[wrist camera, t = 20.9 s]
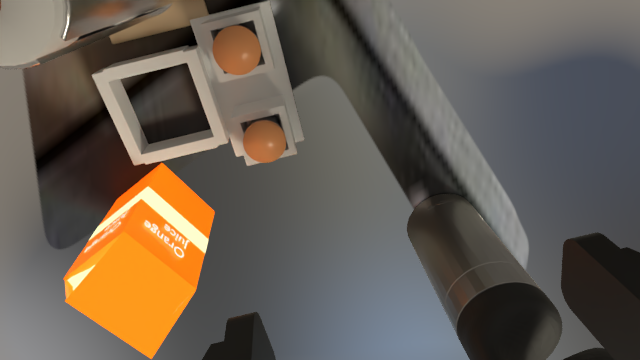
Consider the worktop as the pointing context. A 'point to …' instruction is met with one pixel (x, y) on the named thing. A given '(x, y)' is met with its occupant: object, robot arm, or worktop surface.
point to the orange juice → (143, 261)
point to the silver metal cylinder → (64, 26)
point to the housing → (211, 90)
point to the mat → (164, 20)
